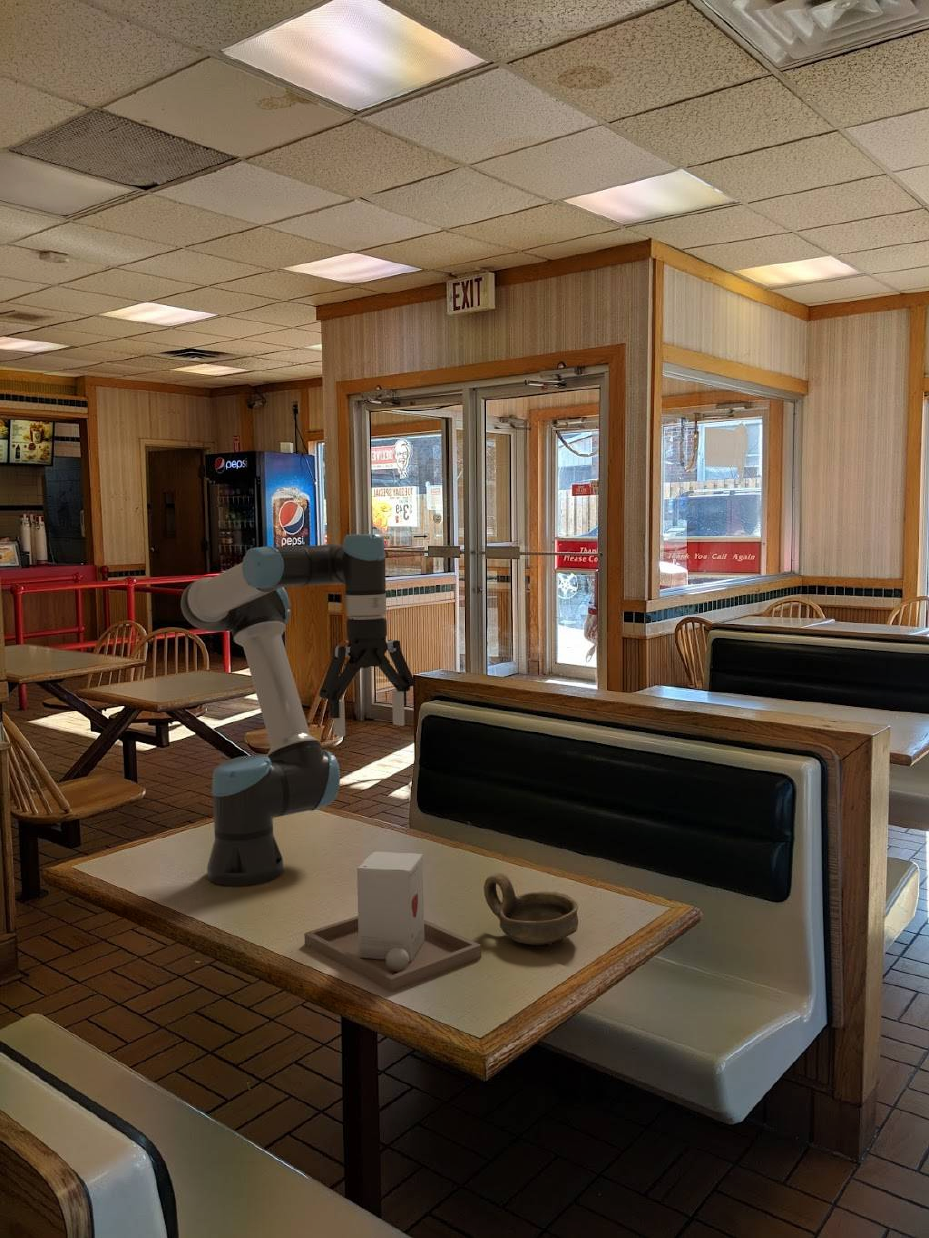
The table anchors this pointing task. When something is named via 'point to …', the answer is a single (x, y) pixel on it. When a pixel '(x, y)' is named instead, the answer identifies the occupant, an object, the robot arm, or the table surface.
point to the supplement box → (390, 904)
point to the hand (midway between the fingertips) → (369, 730)
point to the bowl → (531, 912)
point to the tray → (343, 948)
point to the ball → (397, 959)
